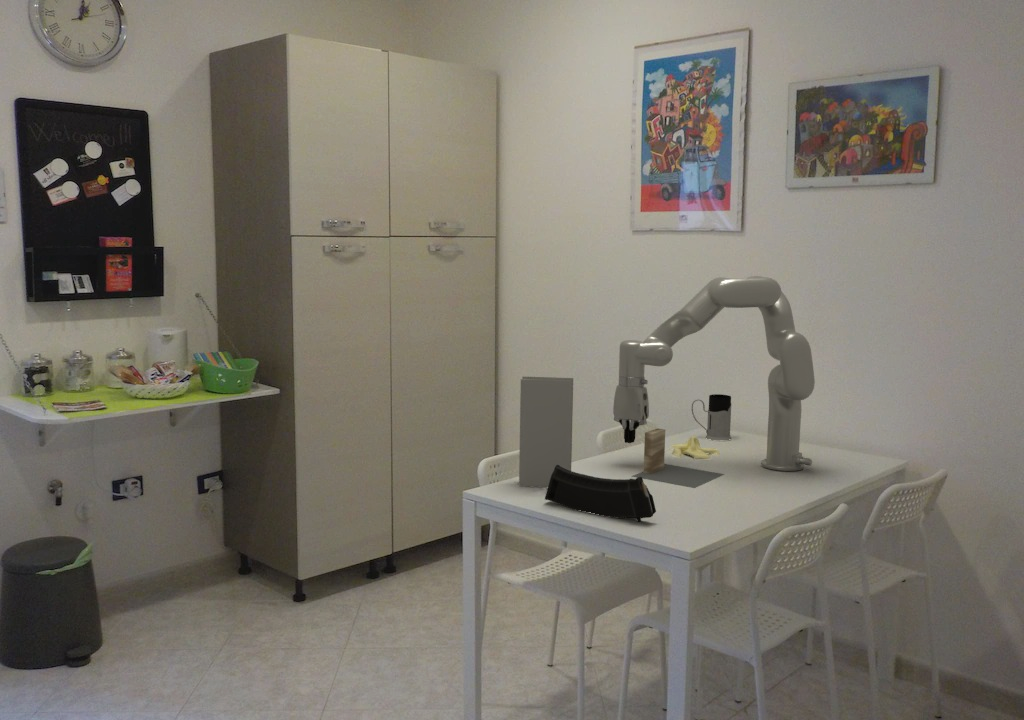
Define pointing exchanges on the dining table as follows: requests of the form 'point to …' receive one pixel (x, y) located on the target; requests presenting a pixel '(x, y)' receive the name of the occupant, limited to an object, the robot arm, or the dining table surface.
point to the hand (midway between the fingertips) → (629, 442)
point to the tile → (654, 451)
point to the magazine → (601, 494)
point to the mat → (680, 476)
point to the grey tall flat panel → (544, 428)
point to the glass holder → (717, 417)
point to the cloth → (693, 449)
